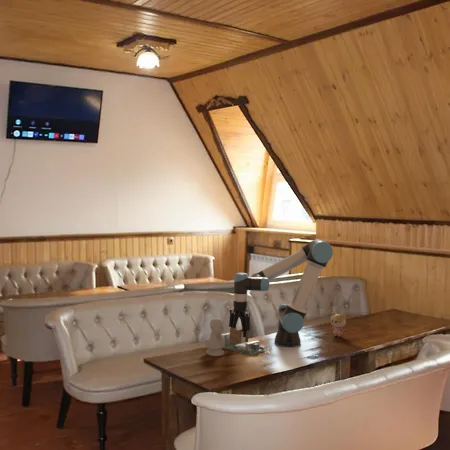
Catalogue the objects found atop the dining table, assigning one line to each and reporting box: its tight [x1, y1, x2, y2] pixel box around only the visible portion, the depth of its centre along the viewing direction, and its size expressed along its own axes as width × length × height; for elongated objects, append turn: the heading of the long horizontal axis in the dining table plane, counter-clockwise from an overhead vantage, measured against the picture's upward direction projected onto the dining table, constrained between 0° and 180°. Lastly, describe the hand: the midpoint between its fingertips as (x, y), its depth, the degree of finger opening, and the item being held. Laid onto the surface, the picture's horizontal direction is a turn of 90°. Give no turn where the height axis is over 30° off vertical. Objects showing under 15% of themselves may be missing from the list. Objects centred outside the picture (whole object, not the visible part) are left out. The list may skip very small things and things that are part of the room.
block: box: [229, 325, 249, 344], centre depth 329 cm, size 9×6×8 cm, turn 137°
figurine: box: [204, 317, 225, 357], centre depth 317 cm, size 9×13×20 cm
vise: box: [221, 332, 265, 356], centre depth 328 cm, size 12×22×7 cm, turn 47°
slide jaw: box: [244, 340, 261, 351], centre depth 322 cm, size 10×4×4 cm, turn 137°
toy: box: [330, 311, 347, 338], centre depth 364 cm, size 10×8×15 cm
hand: (238, 341), depth 329 cm, fingers closed on block, 6 cm apart
